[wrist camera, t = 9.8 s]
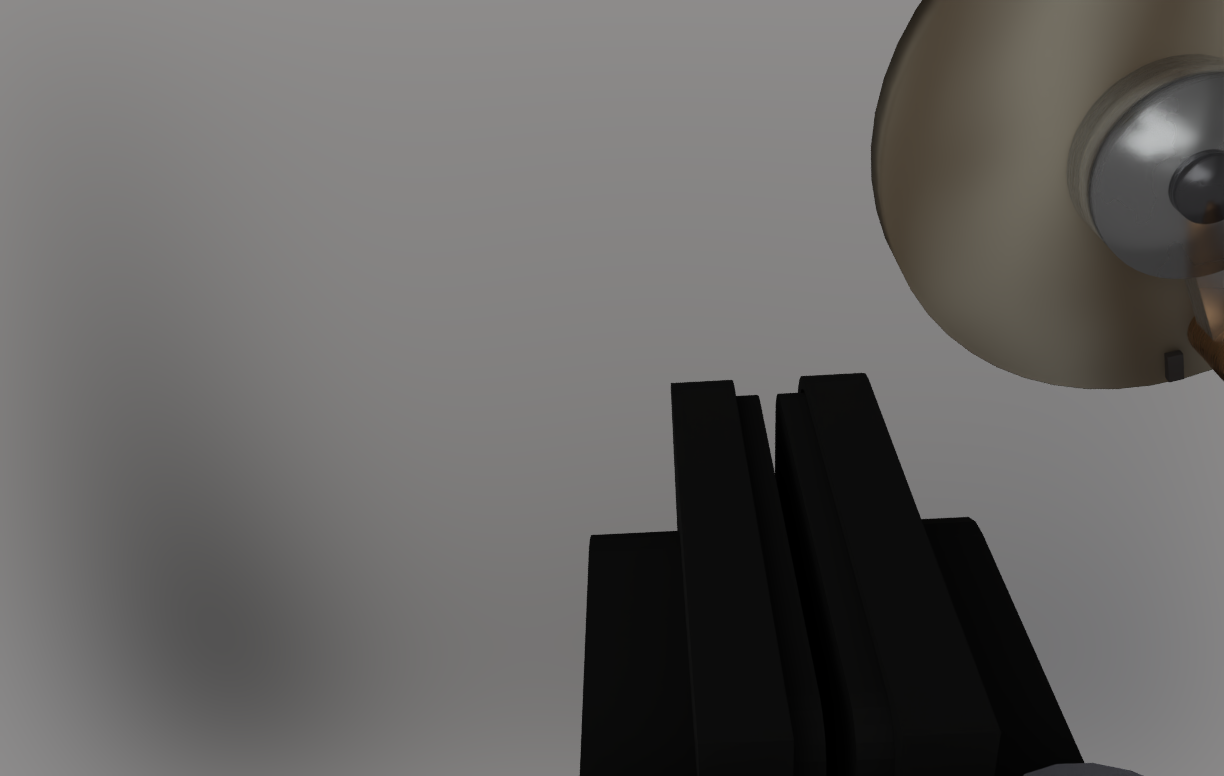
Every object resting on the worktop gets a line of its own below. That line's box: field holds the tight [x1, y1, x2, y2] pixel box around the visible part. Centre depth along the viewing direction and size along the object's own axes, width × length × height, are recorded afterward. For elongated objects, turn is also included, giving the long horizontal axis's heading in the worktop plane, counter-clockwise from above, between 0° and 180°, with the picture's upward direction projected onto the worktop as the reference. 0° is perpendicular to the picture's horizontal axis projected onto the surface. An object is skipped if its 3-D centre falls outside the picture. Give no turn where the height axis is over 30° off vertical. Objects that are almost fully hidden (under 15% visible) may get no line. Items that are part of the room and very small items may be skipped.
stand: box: [871, 0, 1224, 389], centre depth 35 cm, size 17×17×2 cm
